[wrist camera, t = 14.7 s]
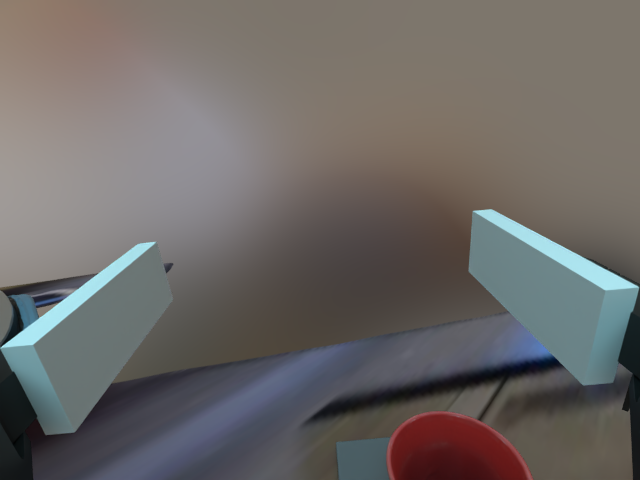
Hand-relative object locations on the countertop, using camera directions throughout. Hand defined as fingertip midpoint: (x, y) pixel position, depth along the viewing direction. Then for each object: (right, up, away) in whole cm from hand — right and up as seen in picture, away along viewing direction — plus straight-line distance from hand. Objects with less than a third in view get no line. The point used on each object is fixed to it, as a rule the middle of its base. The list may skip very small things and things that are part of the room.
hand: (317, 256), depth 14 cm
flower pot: (+12, -26, +16) cm, 33 cm away
